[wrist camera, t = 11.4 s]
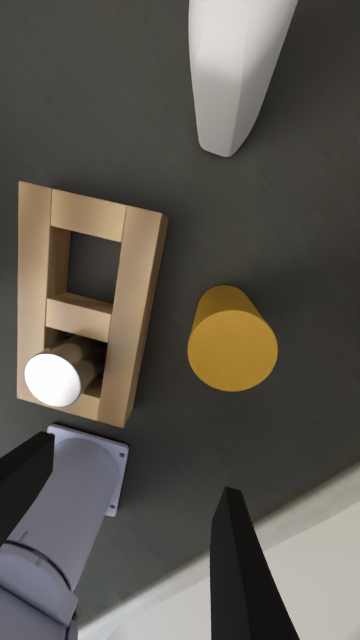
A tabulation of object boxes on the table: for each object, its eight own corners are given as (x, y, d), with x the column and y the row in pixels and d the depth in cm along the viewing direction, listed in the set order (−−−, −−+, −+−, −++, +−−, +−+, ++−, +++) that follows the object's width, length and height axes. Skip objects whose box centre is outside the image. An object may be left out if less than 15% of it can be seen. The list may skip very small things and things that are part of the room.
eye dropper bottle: (172, 114, 15) (40, -348, 3) (246, 27, 13) (474, -1413, 2) (218, 171, 15) (236, -55, 4) (294, 95, 14) (699, -660, 2)
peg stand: (169, 218, 16) (162, 212, 14) (132, 408, 21) (123, 428, 19) (45, 189, 17) (18, 180, 15) (37, 382, 22) (16, 398, 20)
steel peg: (109, 376, 21) (78, 414, 16) (65, 364, 21) (23, 398, 16) (115, 334, 20) (84, 362, 15) (69, 323, 20) (24, 346, 15)
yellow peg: (242, 342, 18) (261, 401, 11) (191, 329, 19) (179, 379, 11) (258, 292, 17) (291, 322, 10) (204, 279, 17) (199, 299, 10)
